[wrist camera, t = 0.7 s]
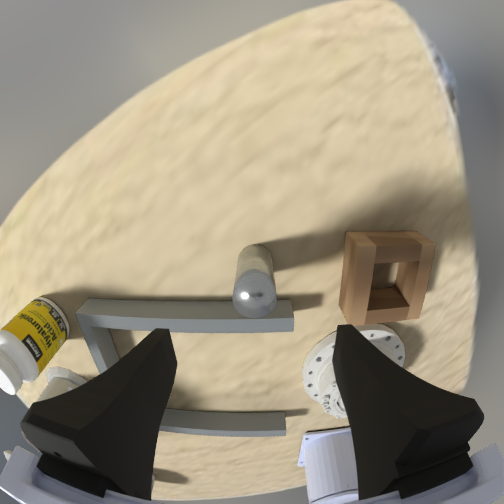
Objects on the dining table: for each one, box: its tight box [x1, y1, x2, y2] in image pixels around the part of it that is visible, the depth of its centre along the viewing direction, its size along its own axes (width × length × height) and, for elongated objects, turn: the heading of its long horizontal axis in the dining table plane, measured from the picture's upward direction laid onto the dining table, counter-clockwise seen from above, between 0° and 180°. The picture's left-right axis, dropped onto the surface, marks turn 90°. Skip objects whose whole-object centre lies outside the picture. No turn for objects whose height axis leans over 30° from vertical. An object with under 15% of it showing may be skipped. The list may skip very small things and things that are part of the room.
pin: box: [232, 245, 277, 318], centre depth 18 cm, size 2×2×6 cm
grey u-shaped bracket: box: [75, 298, 294, 437], centre depth 24 cm, size 15×17×2 cm
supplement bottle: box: [0, 297, 69, 395], centre depth 19 cm, size 5×5×10 cm
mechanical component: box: [302, 324, 406, 419], centre depth 23 cm, size 10×4×10 cm
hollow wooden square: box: [339, 231, 436, 326], centre depth 19 cm, size 6×6×3 cm
